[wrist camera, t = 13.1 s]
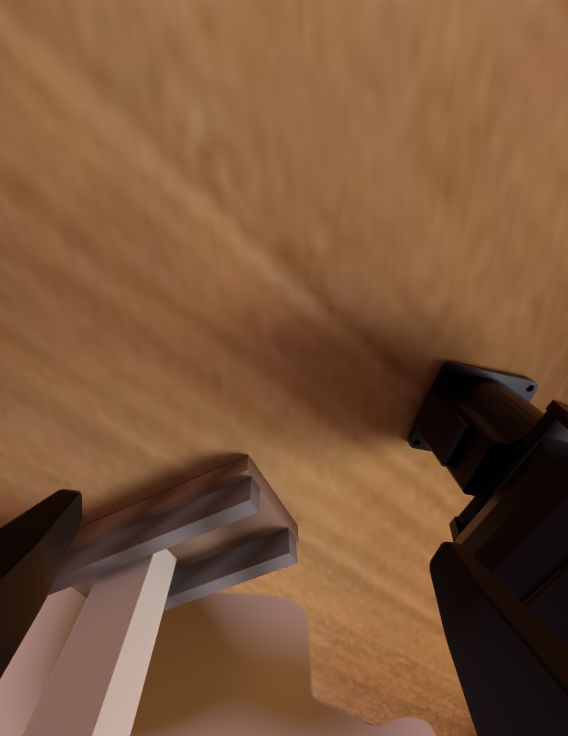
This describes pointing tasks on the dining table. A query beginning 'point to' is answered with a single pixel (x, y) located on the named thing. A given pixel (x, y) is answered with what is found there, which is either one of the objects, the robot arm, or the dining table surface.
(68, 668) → the door panel
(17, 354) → the dining table surface
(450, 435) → the robot arm
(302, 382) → the dining table surface
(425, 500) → the dining table surface
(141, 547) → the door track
